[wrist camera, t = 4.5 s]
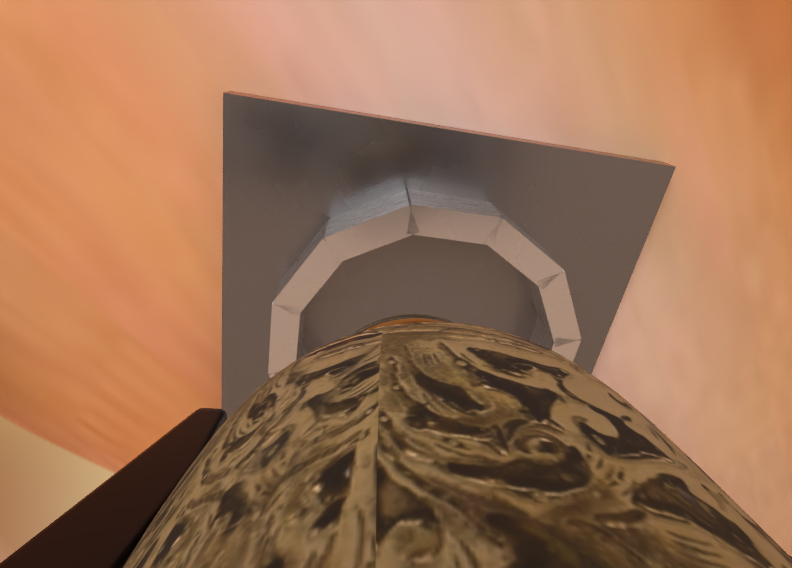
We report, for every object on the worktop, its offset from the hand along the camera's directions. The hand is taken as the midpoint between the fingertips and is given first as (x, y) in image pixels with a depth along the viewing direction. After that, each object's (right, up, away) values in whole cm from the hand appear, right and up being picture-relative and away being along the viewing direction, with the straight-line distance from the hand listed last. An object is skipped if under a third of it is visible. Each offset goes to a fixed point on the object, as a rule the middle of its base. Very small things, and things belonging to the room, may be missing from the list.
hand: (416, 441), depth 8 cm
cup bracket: (+1, +1, +12) cm, 12 cm away
